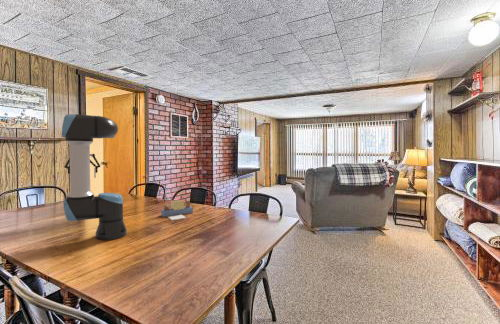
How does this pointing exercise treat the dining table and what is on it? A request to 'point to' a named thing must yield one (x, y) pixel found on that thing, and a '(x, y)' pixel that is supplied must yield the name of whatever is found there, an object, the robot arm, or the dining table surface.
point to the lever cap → (177, 204)
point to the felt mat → (176, 217)
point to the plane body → (177, 212)
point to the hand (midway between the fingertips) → (83, 178)
